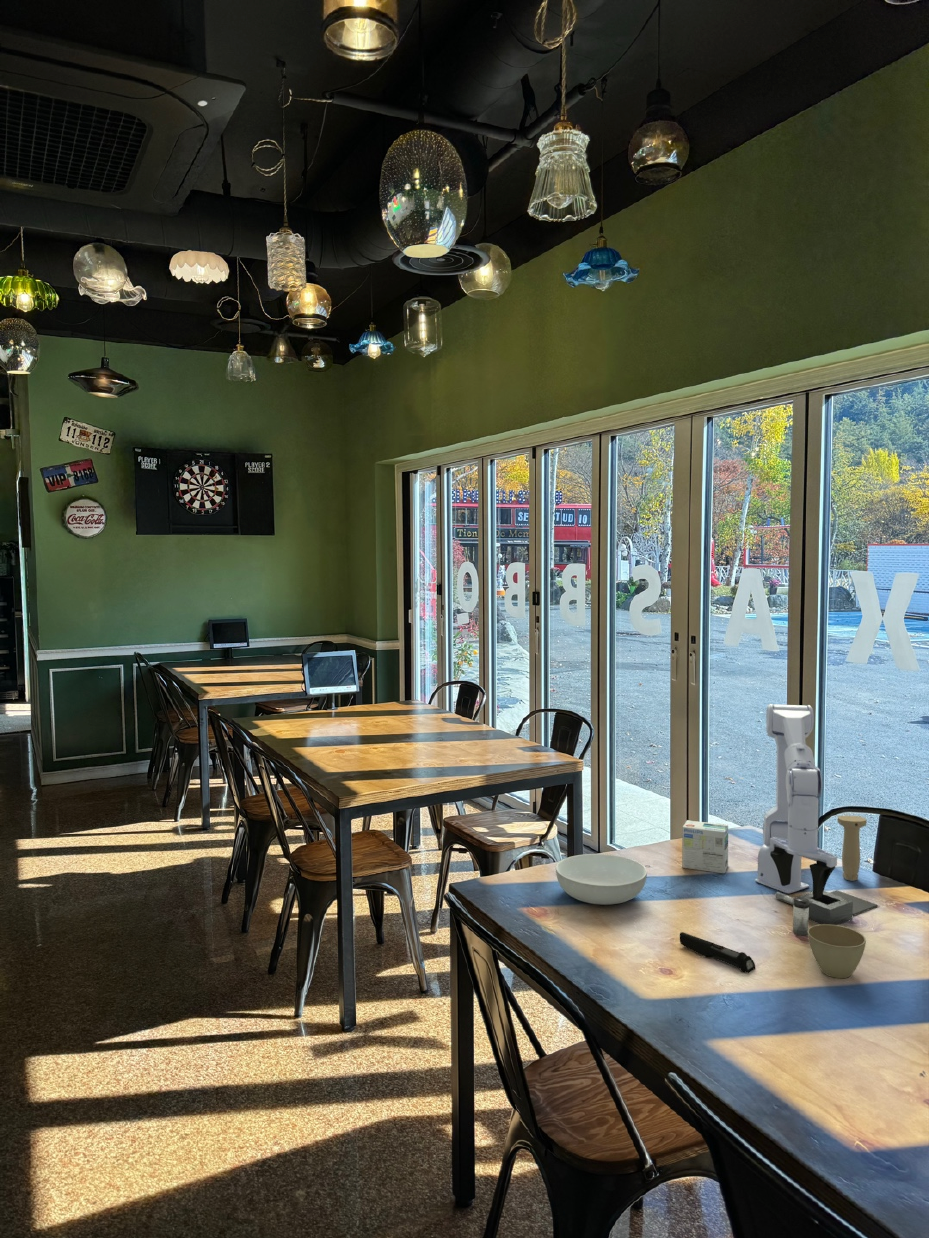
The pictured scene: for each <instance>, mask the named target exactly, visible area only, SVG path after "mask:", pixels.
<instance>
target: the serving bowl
mask: <svg viewBox="0 0 929 1238" xmlns="http://www.w3.org/2000/svg"><path fill="white" fill-rule="evenodd" d="M555 875H556V878H557V879H556V880H557V882H558V884H559V885H560V887H561V888H562V890H563V891H564V892H565V893H566V894H567V895H569V897H572V898H573V899H576V900H577V901H580V902H583V903H588V904H592V905H593V904H594V905H600V906H601V905H605V906H606V905H607V906H608V905H616V904H618V905H619V904H621V903H625V902H627V901H631V900H632V899H634V898H635V897H636V896H638V895H639V894H640V893H641V892H642V890H643V889H644V887H645V885H646V882H647V876H648V871H647V868H646V867H645V865H643V864H642V863H640V862H639V861H637V860H634V859H632V858H629V857H625V856H621V855H615V854H608V853H607V854H606V853H605V854H604V853H585V854H578V855H573V856H569V857H568V856H567V857H565V858H564V859H561V860H560V861H558V862H557V863H556V865H555Z"/></svg>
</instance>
